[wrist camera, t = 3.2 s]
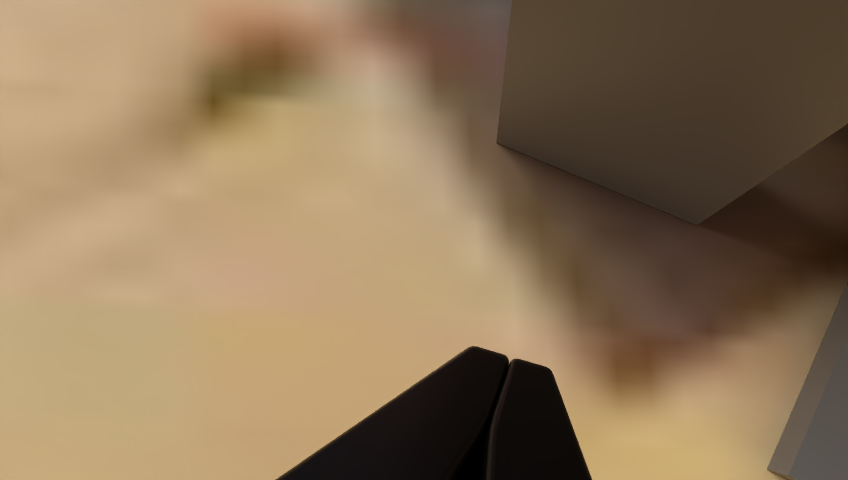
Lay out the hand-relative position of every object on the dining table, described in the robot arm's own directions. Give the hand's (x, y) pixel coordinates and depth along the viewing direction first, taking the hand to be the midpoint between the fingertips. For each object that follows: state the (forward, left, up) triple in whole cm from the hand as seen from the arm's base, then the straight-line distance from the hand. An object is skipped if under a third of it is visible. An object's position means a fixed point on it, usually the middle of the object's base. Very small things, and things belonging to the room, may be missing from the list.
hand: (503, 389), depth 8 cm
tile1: (+6, -3, -12) cm, 14 cm away
